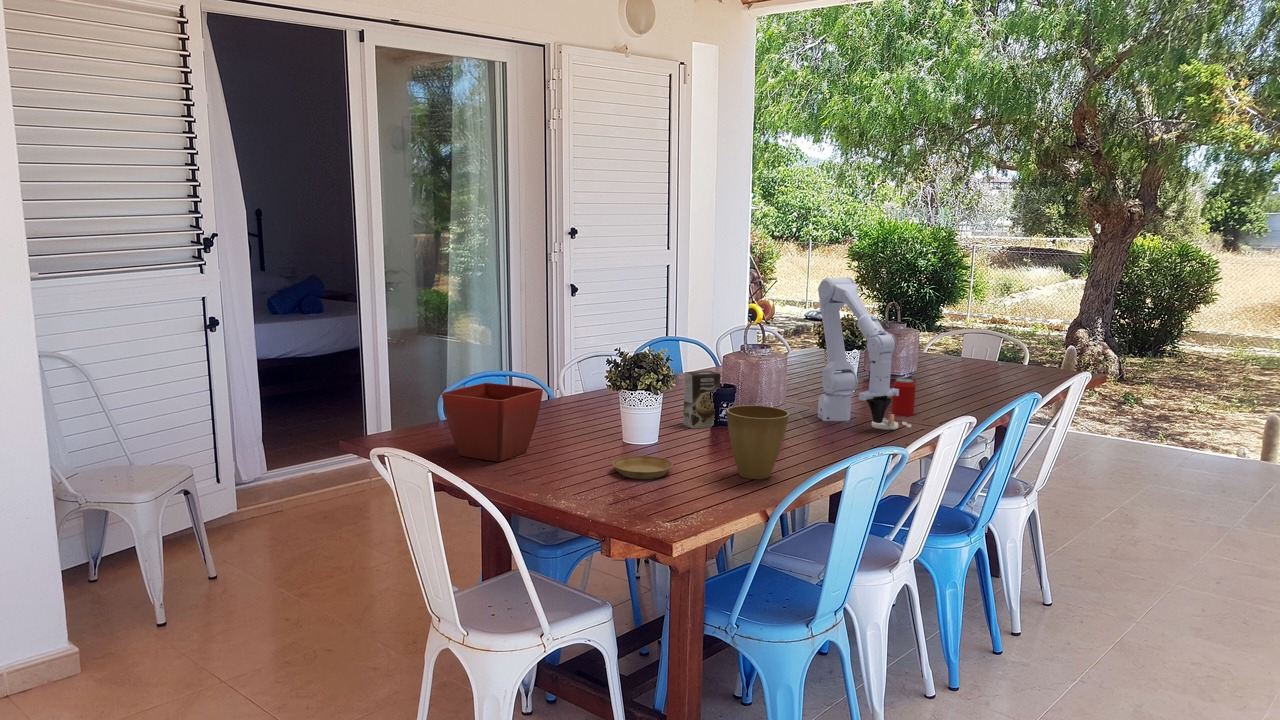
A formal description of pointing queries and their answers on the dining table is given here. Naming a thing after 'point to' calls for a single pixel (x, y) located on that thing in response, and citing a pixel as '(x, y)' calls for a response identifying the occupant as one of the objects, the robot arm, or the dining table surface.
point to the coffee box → (700, 398)
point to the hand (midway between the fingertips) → (877, 422)
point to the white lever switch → (886, 423)
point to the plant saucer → (642, 466)
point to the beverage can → (904, 398)
